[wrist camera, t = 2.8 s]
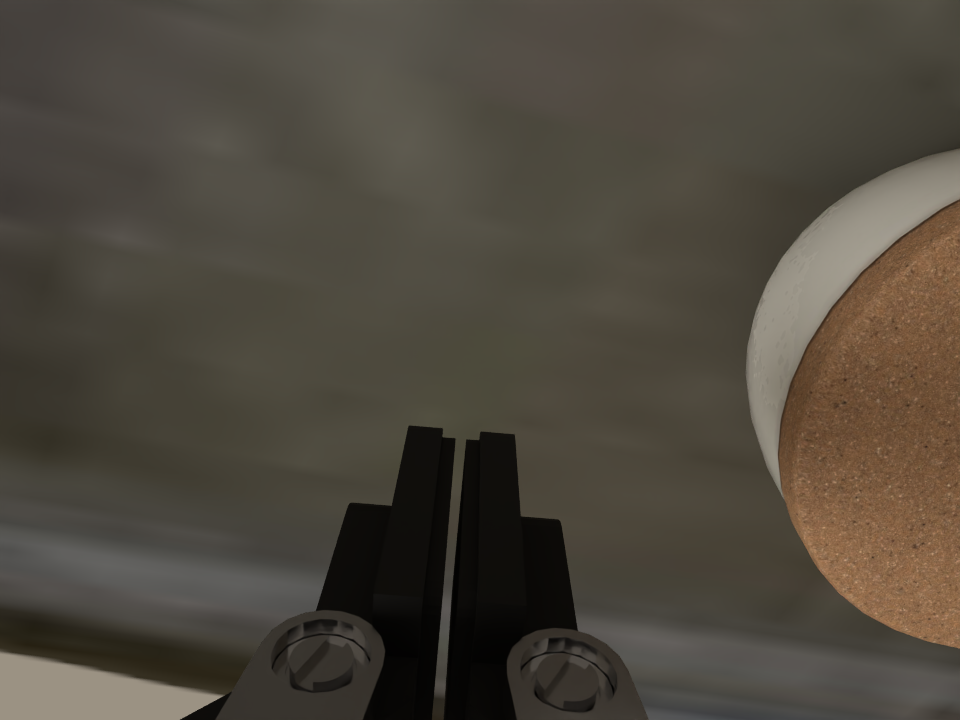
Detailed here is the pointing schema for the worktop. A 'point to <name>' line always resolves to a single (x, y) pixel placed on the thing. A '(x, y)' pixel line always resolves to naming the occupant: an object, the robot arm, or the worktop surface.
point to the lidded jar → (871, 394)
